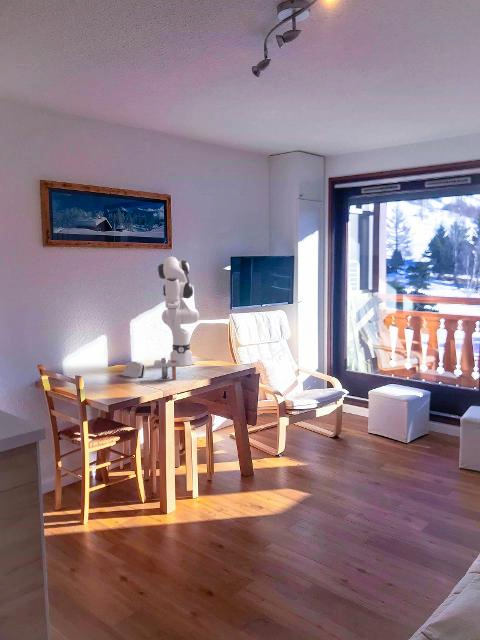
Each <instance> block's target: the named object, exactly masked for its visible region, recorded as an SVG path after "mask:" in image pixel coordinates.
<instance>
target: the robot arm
mask: <svg viewBox="0 0 480 640" xmlns="http://www.w3.org/2000/svg"><path fill="white" fill-rule="evenodd" d="M156 271H157V275H158V277H159V278H160V279H162V280H165V279H166V280H165V284H164V285H163V286H162V288H163V294H162V295H163V296H164V297H165V308H167V309H165V310H164V311H162V314H161V320H162V322H163V323H164V324H165V325H167V327H168V328H169V329H170V331H171V334H172V347H171V348H172V350H171V352H170V354H169V356H170V359H169V360H180V366H179V367H185V366H191V365H196V362H195V361H194V360H193V352H192V351H191V344H190V334H189V331H188V330H186V329H184V328H182V327H181V325H185V324H186V325H190V324H191V325H192V324H196V323H197V322H198V321H199V319H200V313H199V311H198V309H197V308H195V307H193V306H192V305H191V304H190V302H189V301H188V299H190V298H191V297H193V295H194V287H193V284H192V283H191V282H190V279H189V277H188V275H189V272H190V265H189V263H188V261H187V260H178V259H177V257H175V256H167V257H166V258H165V260H164V262H163V263H160V264H159V265H157V270H156Z"/></svg>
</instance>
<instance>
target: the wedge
mask: <svg viewBox="0 0 480 640" xmlns="http://www.w3.org/2000/svg"><path fill="white" fill-rule="evenodd" d="M172 362H176V360H172ZM176 367H177V366H171V380H173V381H176V380H177V371H176V370H177V368H176Z"/></svg>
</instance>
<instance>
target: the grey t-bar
mask: <svg viewBox="0 0 480 640" xmlns="http://www.w3.org/2000/svg"><path fill="white" fill-rule="evenodd" d="M172 366H176V367H181V366H180V360H176V362H172V360H170V359H168V357H162V358H160V359H159V360H154V363H153V367H154V368H159V367H161V376H160V377H159V382H161V381H163V382H164V381H166V382H168V381H170V380H171V376H169V371H168V368H169V367H172Z"/></svg>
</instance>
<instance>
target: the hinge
mask: <svg viewBox="0 0 480 640" xmlns="http://www.w3.org/2000/svg"><path fill="white" fill-rule="evenodd" d="M145 372H146V365H144V364H143V363H142V362H139V361H128V362H126V365H125V368H124V371H122V372H121V376H125V377H128V376H129V378H135V379H139V377H141V378H144V377H145V374H146V373H145Z"/></svg>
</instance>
